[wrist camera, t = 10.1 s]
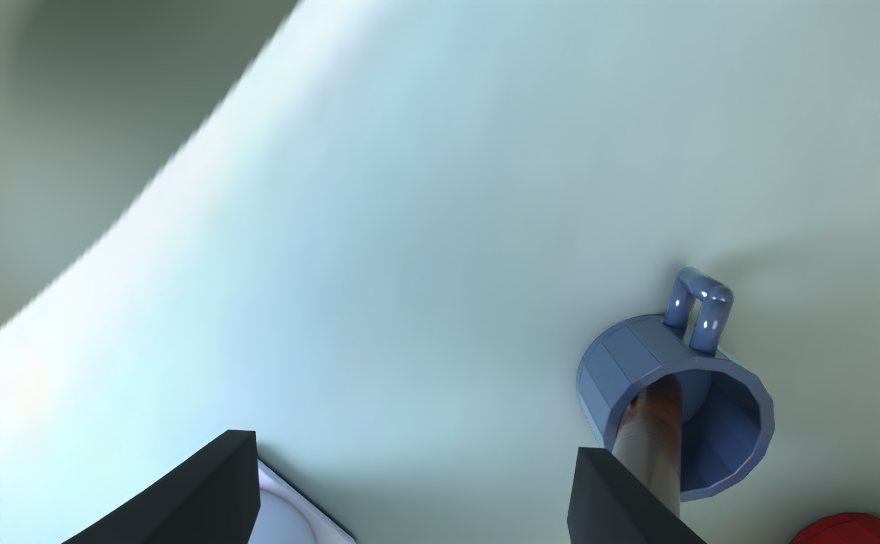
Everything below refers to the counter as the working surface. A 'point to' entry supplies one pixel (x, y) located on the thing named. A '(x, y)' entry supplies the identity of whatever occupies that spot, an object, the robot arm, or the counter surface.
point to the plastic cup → (842, 530)
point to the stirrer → (654, 439)
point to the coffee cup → (683, 385)
